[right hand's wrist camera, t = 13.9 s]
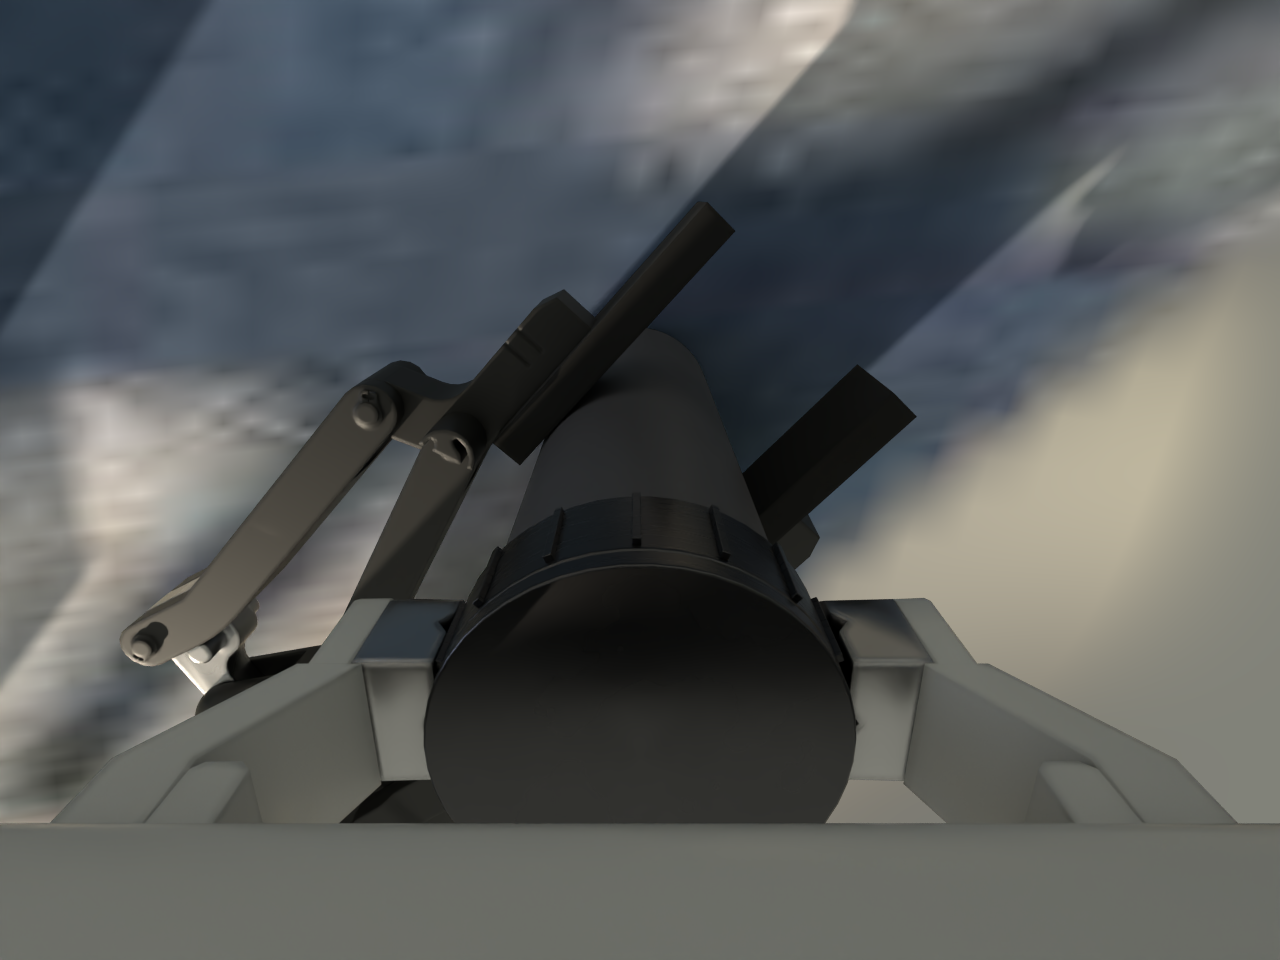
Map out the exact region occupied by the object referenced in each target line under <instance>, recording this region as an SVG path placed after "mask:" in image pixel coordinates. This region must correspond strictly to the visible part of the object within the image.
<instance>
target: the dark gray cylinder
mask: <svg viewBox="0 0 1280 960" xmlns="http://www.w3.org/2000/svg"><path fill="white" fill-rule="evenodd" d="M633 492H640V493H641V496H652V497H661V498H671V499H677V500H682V501H686V502H690V503H695V504H699V505H702V506H705V507H708V508H710V506H711V505H715V506H718V507H719V509H720V512H721V513H724V514H726V515H728V516H730V517H732V518H734V519H736V520H738V521H739V522H741V523H743V524H745V525H747V526H748V527H750V528H751V529H753V530H754V531H755V532H757V533H758V534H760V535H761V536H762V537H764V538H765V539H766V540H767V541H768V539H767V537H766V534H765V532H764V529H763V526H762V524H761V521H760V519H759V516H758V513H757V511H756V508H755V506H754V503H753V501H752V498H751V495H750V493H749V490H748V488H747V485H746V482H745V480H744V477H743V475H742V472H741V470H740V467H739V464H738V462H737V459H736V457H735V454H734V451H733V449H732V446H731V444H730V441H729V439H728V436H727V433H726V431H725V428H724V426H723V423H722V420H721V418H720V415H719V413H718V410H717V408H716V405H715V402H714V400H713V397H712V395H711V392H710V389H709V387H708V384H707V382H706V379H705V377H704V374H703V372H702V369H701V367H700V365H699V363H698V362H697V360H696V359H695V357H694V356H693V355H692V353H691V352H690V351H689V350H688V349H687V348H686V347H685V346H684V345H683V344H682V343H680V342H679V341H677V340H676V339H675V338H673V337H671V336H669V335H667V334H665V333H662V332H660V331H657V330H653V329H648V328H646V329H645V330H644V331H643V332H642V333H641V334H640V335H639V336H638V337H637V339H636V340H635V341H634V342H633V343H632V344H631V345H630V346H629V347H628V348H627V349H626V351H625V352H624V353H623V354H622V355H621V356H620V357H619V358H618V359H617V360H616V361H615V362H614V364H613V365H612V366H611V367H610V368H609V369H608V370H607V371H606V372H605V373H604V374H603V376H602V377H601V378H600V379H599V380H598V381H597V382H596V383H595V384H594V385H593V386H592V388H591V389H590V390H589V391H588V392H587V393H586V394H585V395H584V396H583V397H582V398H581V399H580V401H579V402H578V403H577V404H576V405H575V406H574V407H573V408H572V409H571V410H570V411H569V413H568V414H567V415H566V416H565V417H564V418H563V419H562V420H561V421H560V422H559V423H558V424H557V426H556V427H555V428H554V429H553V430H552V431H551V432H550V433H549V434H548V435H547V436H546V438H545V440H544V442H543V445H542V448H541V451H540V454H539V456H538V459H537V462H536V465H535V467H534V470H533V473H532V476H531V479H530V481H529V484H528V487H527V490H526V492H525V495H524V498H523V501H522V504H521V506H520V509H519V512H518V515H517V518H516V520H515V523H514V526H513V529H512V531H511V534H510V537H509V540H508V543H509V542H511V541H512V540H513V539H515V538H516V537H517V536H519V535H520V534H521V533H523V532H524V531H525V530H527V529H528V528H530V527H531V526H533V525H535V524H537V523H538V522H540V521H542V520H544V519H546V518H547V517H549V516H551V515H553V514H554V510H555V509H557V508H559V507H562V508H563V510H566V509H569V508H571V507H574V506H578V505H582V504H585V503H589V502H593V501H597V500H603V499H610V498H618V497H632V493H633ZM508 543H507V544H508Z"/></svg>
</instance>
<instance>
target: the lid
mask: <svg viewBox="0 0 1280 960" xmlns="http://www.w3.org/2000/svg"><path fill="white" fill-rule="evenodd" d="M842 661H844V657H843V654H842V652H841V650H840V648H839V646H838V643H837V641H836V639H835V637H834V634H833V632H832V630H831V628H830V626H829V623H828V621H827V619H826V617H825V614H824V612H823V610H822V608H821V606H820V603H819V601H818V599H817V597H815V598H812V599H811V598H810V596H809V594H808V591H807V589H806V588H805V586H804V584H803V582H802V581H801V579H800V577H799V576H798V574H797V572H796V571H795V570H794V568H793V567H792V566H791V565H790V563H789V562H788V561H787V558H786V556H785V553H784V551H783V549H782V546H781V545H780V544H778V543H777V542H776V543H775V544H774V545H772V544H771V543H770V542H769V541H767V540H766V539H765V538H764V537H762V536H761V535H760V534H758V533H757V532H755V531H754V530H753V529H751V528H750V527H748V526H747V525H745V524H743V523H741V522H739V521H738V520H736V519H734V518H732V517H730V516H728V515H726V514H724V513H721V512H720V509H719V507H718V506H715V505H711V506H710V508H708V507H705V506H702V505H699V504H695V503H690V502H686V501H682V500H677V499H671V498H661V497H652V496H641V493H640V492H633V493H632V497H618V498H610V499H603V500H597V501H593V502H589V503H585V504H582V505H578V506H574V507H571V508H569V509H566V510H563V508H562V507H559V508H557V509H555V510H554V514H553V515H551V516H549V517H547V518H546V519H544V520H542V521H540V522H538V523H537V524H535V525H533V526H531V527H530V528H528V529H527V530H525V531H524V532H523V533H521V534H520V535H519V536H517V537H516V538H515V539H513V540H512V541H511V542H509V543H508V544H507V545H506V546H505V547H504V548H503V549H501V548H500V547H497V548H496V549H495V550H494V551H493V553H492V555H491V558H490V560H489V563H488V565H487V567H486V569H485V570H484V571H483V573H482V574H481V575H480V577H479V579H478V581H477V582H476V584H475V586H474V588H473V590H472V592H471V594H470V595H469V598H468V600H467V603H466V604H463V603H460V604H459V607H458V609H457V611H456V614H455V616H454V618H453V620H452V622H451V625H450V627H449V629H448V632H447V634H446V637H445V639H444V641H443V643H442V646H441V648H440V650H439V653H438V655H437V657H436V659H435V668H438V669H439V670H438V673H437V675H436V677H435V680H434V683H433V686H432V689H431V692H430V694H429V697H428V700H427V706H426V712H425V717H424V751H425V758H426V764H427V769H428V772H429V775H430V778H431V781H432V784H433V787H434V790H435V792H436V794H437V796H438V798H439V800H440V802H441V804H442V806H443V808H444V810H445V811H446V813H447V814H448V816H449V817H450V818H451V820H452V821H453V823H826V821H827V820H828V818H829V816H830V815H831V814H832V812H833V810H834V809H835V807H836V806H837V804H838V802H839V800H840V798H841V796H842V794H843V792H844V789H845V787H846V785H847V783H848V779H849V776H850V772H851V769H852V766H853V762H854V755H855V747H856V739H857V738H856V716H855V711H854V706H853V701H852V697H851V693H850V690H849V687H848V685H847V682H846V680H845V677H844V675H843V672H842V670H841V667H840V665H839V662H842Z"/></svg>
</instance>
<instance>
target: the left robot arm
mask: <svg viewBox="0 0 1280 960" xmlns="http://www.w3.org/2000/svg"><path fill="white" fill-rule="evenodd" d="M734 232H735V230H734V229H733V228H732V227H731V226H730V225H729V224H728V223H727V222H726V221H725V220H724V219H723V218H722V217H721V216H720V215H719V214H718V213H717V212H716V211H715V210H714V209H713V208H712V207H711V206H710V205H709V203H708V202H697V203H696V204H695V205H694V206H693V208H692V209H691V210H690V211H689V212H688V213H687V214H686V215H685V217H684V218H683V219H682V220H681V221H680V222H679V223H678V224H677V226H676V227H675V228H674V229H673V230H672V231H671V232H670V233H669V235H668V236H667V237H666V238H665V239H664V240H663V241H662V242H661V244H660V245H659V246H658V247H657V248H656V249H655V250H654V251H653V253H652V254H651V255H650V256H649V257H648V258H647V259H646V260H645V262H644V263H643V264H642V265H641V266H640V267H639V268H638V269H637V271H636V272H635V273H634V274H633V275H632V276H631V277H630V278H629V280H628V281H627V282H626V283H625V284H624V285H623V286H622V288H621V289H620V290H619V291H618V292H617V293H616V294H615V295H614V297H613V298H612V299H611V300H610V301H609V302H608V303H607V304H606V306H605V307H604V308H603V309H602V310H601V311H600V312H599V313H598V315H597V316H596V317H594V316H593V315H592V314H590V313H589V312H588V311H587V310H586V309H585V308H584V307H583V306H582V305H581V304H580V303H578V302H577V301H576V300H575V299H574V298H573V297H572V296H571V295H570V294H569V293H568V292H566V291H565V290H562V291H560V292H558V293H556V294H554V295H552V296H549V297H547V298H545V299H543V300H542V301H541V302H540V303H539V304H538V305H537V306H536V307H535V308H534V309H533V310H532V311H531V313H530V314H529V315H528V316H527V317H526V319H525V320H524V321H523V322H522V323H521V324H520V326H519V327H518V328H517V329H516V330H515V331H514V333H513V334H512V335H511V336H510V337H509V338H508V340H507V341H506V342H505V343H504V344H503V346H502V347H501V348H500V349H499V350H498V351H497V353H496V354H495V355H494V356H493V357H492V358H491V360H490V361H489V362H488V363H487V364H486V365H485V367H484V368H483V369H482V370H481V371H480V373H479V374H478V375H477V376H476V377H475V378H474V379H473V380H471V381H469V382H467V383H463V384H448V383H445V382H441V381H439V380H436V379H434V378H431V377H429V376H426V375H425V373H424V372H423V371H422V370H421V369H420V368H419V367H418V366H416V365H415V364H413V363H411V362H407V361H401V360H400V361H396V362H392V363H390V364H388V365H387V366H385V367H384V368H382V369H381V370H379V371H378V372H376V373H374V374H373V375H371V376H370V377H368V378H367V379H365V380H364V381H362V382H361V383H359V384H358V385H356V386H354V387H353V388H352V389H350V390H349V391H348V392H347V393H345V395H344V396H343V397H342V398H341V400H340V401H339V402H338V403H337V405H336V406H335V407H334V408H333V410H332V411H331V412H330V413H329V415H328V416H327V417H326V418H325V420H324V421H323V422H322V424H321V425H320V426H319V427H318V429H317V430H316V431H315V432H314V434H313V435H312V436H311V437H310V439H309V440H308V441H307V442H306V444H305V445H304V446H303V447H302V449H301V450H300V451H299V453H298V454H297V455H296V456H295V458H294V459H293V460H292V461H291V463H290V464H289V465H288V466H287V468H286V469H285V470H284V471H283V473H282V474H281V475H280V476H279V478H278V479H277V480H276V482H275V483H274V484H273V485H272V487H271V488H270V489H269V490H268V492H267V493H266V494H265V495H264V497H263V498H262V499H261V500H260V502H259V503H258V504H257V505H256V507H255V508H254V509H253V511H252V512H251V513H250V514H249V516H248V517H247V518H246V519H245V521H244V522H243V523H242V524H241V526H240V527H239V528H238V529H237V531H236V532H235V533H234V534H233V536H232V537H231V538H230V540H229V541H228V542H227V543H226V545H225V546H224V547H223V548H222V550H221V551H220V552H219V553H218V555H217V556H216V557H215V558H214V560H213V561H212V562H211V564H210V565H209V566H208V567H207V568H205V569H203V570H202V571H200V572H198V573H196V574H194V575H192V576H190V577H188V578H187V579H185V580H184V581H183V582H182V583H180V584H179V585H178V586H177V587H176V588H174V589H173V590H172V591H171V592H170V593H168V594H167V595H166V596H164V597H163V598H162V599H161V600H160V601H158V602H157V603H156V604H155V605H154V606H152V607H151V608H150V609H149V610H148V611H146V612H145V613H144V614H143V615H142V616H141V617H139V618H138V619H137V620H136V621H135V622H133V623H132V624H131V625H130V626H129V627H127V628H126V629H125V630H124V631H123V632H122V634H121V636H120V644H121V648H122V650H123V651H124V653H125V654H126V655H127V656H128V657H129V658H130V659H132V660H133V661H134V662H137V663H139V664H142V665H146V666H156V665H160V664H163V663H165V662H167V661H169V660H171V659H172V660H173V661H174V662H175V663H176V664H177V665H178V666H179V667H180V668H181V670H182V671H183V672H184V673H185V674H186V675H187V676H188V677H189V678H190V680H191V681H192V682H193V683H194V684H195V685H196V686H197V687H198V688H199V690H200V691H201V692H202V693H203V694H204V696H203V697H202V698H201V700H200V702H199V704H198V706H197V709H196V713H195V716H196V715H198V714H200V713H202V712H204V711H205V710H207V709H209V708H211V707H213V706H215V705H217V704H219V703H221V702H223V701H225V700H227V699H229V698H231V697H233V696H235V695H237V694H239V693H241V692H243V691H245V690H247V689H249V688H251V687H252V686H254V685H256V684H258V683H260V682H262V681H264V680H266V679H268V678H270V677H272V676H274V675H276V674H278V673H280V672H282V671H284V670H286V669H288V668H290V667H292V666H294V665H296V664H308V663H309V662H310V661H311V659H312V658H313V656H314V655H315V654H316V652H317V651H318V650H319V648H320V647H321V645H319V646H313V647H307V648H302V649H296V650H290V651H284V652H278V653H272V654H266V655H260V656H255V657H248V655H247V654H246V651H245V641H246V639H247V638H248V637H249V636H250V635H251V634H252V633H253V632H254V630H255V629H256V627H257V616H256V614H255V613H256V612H257V610H258V609H259V602H258V600H257V599H256V598H255V597H256V596H257V595H258V594H259V593H260V592H261V591H262V590H263V589H264V588H265V587H266V586H267V585H268V584H269V583H270V582H271V581H272V580H273V579H274V578H275V577H276V576H277V575H278V574H279V573H280V572H281V571H282V570H283V569H284V568H285V566H286V565H287V564H288V563H289V562H290V561H291V559H292V558H293V557H294V556H295V555H296V553H297V552H298V551H299V550H300V549H301V547H302V546H303V545H304V544H305V543H306V541H307V540H308V539H309V538H310V537H311V536H312V534H313V533H314V532H315V531H316V530H317V528H318V527H319V526H320V525H321V524H322V522H323V521H324V520H325V519H326V518H327V516H328V515H329V514H330V513H331V512H332V510H333V509H334V508H335V507H336V506H337V505H338V503H339V502H340V501H341V500H342V499H343V497H344V496H345V495H346V494H347V493H348V491H349V490H350V489H351V488H352V487H353V485H354V484H355V483H356V482H357V481H358V480H359V478H360V477H361V476H362V475H363V474H364V472H365V471H366V470H367V469H368V468H369V466H370V465H371V464H372V463H373V462H374V460H375V459H376V458H377V457H378V456H379V455H380V453H381V452H382V451H383V450H384V449H385V447H386V446H387V445H388V444H389V443H390V441H391V440H392V439H395V440H397V441H400V442H403V443H405V444H408V445H410V446H413V447H416V448H418V449H421V450H420V452H419V455H418V457H417V459H416V461H415V463H414V465H413V467H412V470H411V472H410V474H409V476H408V478H407V480H406V482H405V485H404V487H403V489H402V491H401V493H400V495H399V497H398V500H397V502H396V504H395V506H394V508H393V510H392V512H391V515H390V517H389V519H388V521H387V523H386V525H385V527H384V529H383V532H382V534H381V536H380V538H379V540H378V542H377V544H376V547H375V549H374V551H373V553H372V555H371V557H370V559H369V562H368V564H367V566H366V568H365V570H364V572H363V574H362V577H361V579H360V581H359V583H358V585H357V587H356V589H355V592H354V594H353V596H352V598H351V600H350V602H349V604H348V607H347V609H346V611H347V610H348V608H349V607H350V606H351V604H352V603H353V602H354V601H355V600H359V599H379V598H392V599H413V598H414V596H415V594H416V592H417V590H418V588H419V586H420V585H421V583H422V581H423V579H424V577H425V575H426V573H427V571H428V569H429V567H430V565H431V563H432V561H433V559H434V557H435V555H436V553H437V551H438V549H439V547H440V545H441V543H442V541H443V539H444V537H445V535H446V533H447V531H448V529H449V527H450V525H451V523H452V521H453V519H454V517H455V515H456V513H457V511H458V509H459V507H460V505H461V503H462V501H463V499H464V497H465V495H466V493H467V491H468V489H469V487H470V486H471V484H472V482H473V480H474V478H475V476H476V474H477V472H478V470H479V468H480V466H481V464H482V462H483V460H484V458H485V456H486V454H487V452H488V450H489V448H490V446H491V444H492V443H493V444H495V445H496V446H497V447H498V448H499V449H501V450H502V451H503V452H504V453H506V454H507V455H508V456H509V457H510V458H512V459H513V460H514V461H515V462H517V463H518V464H519V465H521V464H522V463H523V461H524V460H525V459H526V458H527V457H528V456H529V455H530V454H531V453H532V452H533V451H534V449H535V448H536V447H537V446H538V445H539V444H540V443H541V442H542V441H543V440H544V439H545V438H546V436H547V435H548V434H549V433H550V432H551V431H552V430H553V429H554V428H555V427H556V426H557V424H558V423H559V422H560V421H561V420H562V419H563V418H564V417H565V416H566V415H567V414H568V413H569V411H570V410H571V409H572V408H573V407H574V406H575V405H576V404H577V403H578V402H579V401H580V399H581V398H582V397H583V396H584V395H585V394H586V393H587V392H588V391H589V390H590V389H591V388H592V386H593V385H594V384H595V383H596V382H597V381H598V380H599V379H600V378H601V377H602V376H603V374H604V373H605V372H606V371H607V370H608V369H609V368H610V367H611V366H612V365H613V364H614V362H615V361H616V360H617V359H618V358H619V357H620V356H621V355H622V354H623V353H624V352H625V351H626V349H627V348H628V347H629V346H630V345H631V344H632V343H633V342H634V341H635V340H636V339H637V337H638V336H639V335H640V334H641V333H642V332H643V331H644V330H645V329H646V328H647V327H648V326H649V324H650V323H651V322H652V321H653V320H654V319H655V318H656V317H657V316H658V315H659V314H660V312H661V311H662V310H663V309H664V308H665V307H666V306H667V305H668V304H669V303H670V302H671V301H672V299H673V298H674V297H675V296H676V295H677V294H678V293H679V292H680V291H681V290H682V289H683V287H684V286H685V285H686V284H687V283H688V282H689V281H690V280H691V279H692V278H693V277H694V276H695V274H696V273H697V272H698V271H699V270H700V269H701V268H702V267H703V266H704V265H705V264H706V262H707V261H708V260H709V259H710V258H711V257H712V256H713V255H714V254H715V253H716V252H717V251H718V249H719V248H720V247H721V246H722V245H723V244H724V243H725V242H726V241H727V240H728V239H729V237H730V236H731V235H732V234H733V233H734ZM916 417H917V416H916V415H915V414H914V413H913V412H912V411H911V410H910V409H909V408H908V407H907V406H906V405H905V404H904V403H903V402H902V401H901V400H900V399H899V398H898V397H897V396H896V395H895V394H894V393H893V392H892V391H891V390H889V389H888V388H887V387H885V386H884V385H883V384H882V383H880V382H879V381H878V380H877V379H875V378H874V377H873V376H871V375H870V374H869V373H868V372H866V371H865V370H864V369H863V368H861V367H860V366H859V365H856V366H855V367H854V368H853V369H852V370H851V371H850V372H849V373H848V374H847V375H846V376H845V377H844V378H843V379H841V380H840V381H839V382H838V383H837V384H836V385H835V386H834V387H833V388H832V389H831V390H830V391H829V392H828V393H827V394H826V395H825V396H824V397H823V398H821V399H820V400H819V401H818V402H817V403H816V404H815V405H814V406H813V407H812V408H811V409H810V410H809V411H808V412H807V413H806V414H805V415H804V416H803V417H801V418H800V419H799V420H798V421H797V422H796V423H795V424H794V425H793V426H792V427H791V428H790V429H789V430H788V431H787V432H786V433H785V434H784V435H783V436H781V437H780V438H779V439H778V440H777V441H776V442H775V443H774V444H773V445H772V446H771V447H770V448H769V449H768V450H767V451H766V452H765V453H764V454H763V455H761V456H760V457H759V458H758V459H757V460H756V461H755V462H754V463H753V464H752V465H751V466H750V467H749V468H748V469H747V470H746V471H745V472H744V473H743V474H742V475H743V477H744V480H745V482H746V485H747V488H748V490H749V493H750V495H751V498H752V501H753V503H754V506H755V508H756V511H757V513H758V516H759V519H760V521H761V524H762V526H763V529H764V532H765V534H766V537H767V539H768V541H769V542H770V543H771V544H772V545H774V544H775V543H776V542H777V543H778V544H780V545H781V546H782V549H783V551H784V553H785V556H786V558H787V561H788V562H789V563H790V565H791V566H792V567H793V568H794V570H795V569H796V568H797V567H798V566H799V565H801V564H802V563H803V562H804V561H805V560H806V559H807V558H809V557H810V555H811V553H812V551H813V549H814V547H815V546H816V544H817V542H818V540H819V538H820V537H819V535H818V533H817V531H816V529H815V527H814V525H813V523H812V521H811V519H810V517H809V515H808V514H809V513H810V512H811V511H812V510H813V509H814V508H815V507H816V506H818V505H819V504H820V503H821V502H822V501H823V500H824V499H825V498H826V497H828V496H829V495H830V494H831V493H832V492H833V491H834V490H835V489H837V488H838V487H839V486H840V485H841V484H842V483H843V482H844V481H845V480H847V479H848V478H849V477H850V476H851V475H852V474H853V473H854V472H856V471H857V470H858V469H859V468H860V467H861V466H862V465H863V464H864V463H866V462H867V461H868V460H869V459H870V458H871V457H872V456H873V455H874V454H876V453H877V452H878V451H879V450H880V449H881V448H882V447H883V446H885V445H886V444H887V443H888V442H889V441H890V440H891V439H892V438H893V437H895V436H896V435H897V434H898V433H899V432H900V431H901V430H902V429H903V428H905V427H906V426H907V425H908V424H909V423H910V422H911V421H912V420H914V419H915V418H916ZM346 611H345V612H346ZM344 614H345V613H344ZM340 823H453V821H452V820H451V818H450V817H449V816H448V814H447V813H446V811H445V810H444V808H443V806H442V804H441V802H440V800H439V798H438V796H437V794H436V792H435V790H434V787H433V784H432V781H431V780H396V781H381V785H380V786H379V787H378V788H377V789H376V790H375V791H374V792H373V793H371V794H370V795H369V796H368V797H367V798H366V799H365V800H364V801H363V802H362V803H360V804H359V805H358V806H357V807H356V808H355V809H354V810H353V811H352V812H351V813H349V814H348V815H347V816H346V817H345V818H344V819H343V820H342V821H341V822H340Z"/></svg>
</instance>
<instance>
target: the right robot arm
mask: <svg viewBox="0 0 1280 960" xmlns="http://www.w3.org/2000/svg"><path fill="white" fill-rule="evenodd" d="M460 603H463V604H465V602H464V600H430V599H392V598H379V599H359V600H355V601H354V602H353V603H352V604H351V606H350V607H349V608H348V610H347V611H346V612H345V614H344V615H343V617H342V618H341V619H340V621H339V622H338V623H337V625H336V626H335V628H334V629H333V630H332V632H331V633H330V634H329V636H328V637H327V639H326V640H325V641H324V643H323V644H322V645H321V647H320V648H319V650H318V651H317V652H316V654H315V655H314V656H313V658H312V659H311V661H310V662H309V663H308V664H296V665H294V666H292V667H290V668H288V669H286V670H284V671H282V672H280V673H278V674H276V675H274V676H272V677H270V678H268V679H266V680H264V681H262V682H260V683H258V684H256V685H254V686H252V687H251V688H249V689H247V690H245V691H243V692H241V693H239V694H237V695H235V696H233V697H231V698H229V699H227V700H225V701H223V702H221V703H219V704H217V705H215V706H213V707H211V708H209V709H207V710H205V711H204V712H202V713H200V714H198V715H196V716H194V717H192V718H190V719H188V720H186V721H184V722H182V723H180V724H178V725H176V726H174V727H172V728H170V729H168V730H166V731H164V732H162V733H160V734H158V735H157V736H155V737H153V738H151V739H149V740H147V741H145V742H143V743H141V744H139V745H137V746H135V747H133V748H131V749H129V750H127V751H125V752H123V753H121V754H119V755H117V756H115V757H113V758H112V759H111V760H110V761H109V762H108V763H107V764H106V765H105V766H104V767H103V768H102V769H101V770H100V771H99V772H98V773H97V774H96V775H95V777H94V778H93V779H92V780H91V781H90V782H89V783H88V784H87V785H86V786H85V787H84V788H83V789H82V790H81V791H80V792H79V793H78V794H77V795H76V796H75V797H74V798H73V800H72V801H71V802H70V803H69V804H68V805H67V806H66V807H65V808H64V809H63V810H62V811H61V812H60V813H59V814H58V815H57V816H56V817H55V818H54V819H53V820H52V822H51V823H0V960H1280V824H1238V823H1237V822H1236V821H1235V820H1234V819H1233V818H1232V817H1231V816H1230V814H1229V813H1228V812H1227V811H1226V810H1225V809H1224V808H1223V807H1222V806H1221V805H1220V804H1219V803H1218V802H1217V801H1216V800H1215V799H1214V798H1213V797H1212V796H1211V795H1210V794H1209V793H1208V792H1207V791H1206V790H1205V789H1204V787H1203V786H1202V785H1201V784H1200V783H1199V782H1198V781H1197V780H1196V779H1195V778H1194V777H1193V776H1192V775H1191V774H1190V773H1189V772H1188V771H1187V770H1186V769H1185V768H1184V767H1183V766H1182V765H1181V764H1180V762H1179V761H1178V760H1177V759H1175V758H1173V757H1171V756H1169V755H1167V754H1165V753H1163V752H1161V751H1159V750H1157V749H1155V748H1153V747H1151V746H1149V745H1147V744H1145V743H1143V742H1141V741H1139V740H1137V739H1136V738H1134V737H1132V736H1130V735H1128V734H1126V733H1124V732H1122V731H1120V730H1118V729H1116V728H1114V727H1112V726H1110V725H1108V724H1106V723H1104V722H1102V721H1100V720H1098V719H1096V718H1094V717H1092V716H1090V715H1088V714H1086V713H1084V712H1082V711H1080V710H1078V709H1077V708H1075V707H1073V706H1071V705H1069V704H1067V703H1065V702H1063V701H1061V700H1059V699H1057V698H1055V697H1053V696H1051V695H1049V694H1047V693H1045V692H1043V691H1041V690H1039V689H1037V688H1035V687H1033V686H1031V685H1029V684H1027V683H1025V682H1023V681H1021V680H1020V679H1018V678H1016V677H1014V676H1012V675H1010V674H1008V673H1006V672H1004V671H1002V670H1000V669H998V668H996V667H994V666H992V665H990V664H977V663H976V661H975V660H974V659H973V657H972V656H971V655H970V653H969V652H968V651H967V649H966V648H965V647H964V645H963V644H962V643H961V641H960V640H959V639H958V637H957V636H956V634H955V633H954V632H953V630H952V629H951V628H950V626H949V625H948V624H947V622H946V621H945V620H944V618H943V617H942V616H941V614H940V613H939V612H938V610H937V609H936V608H935V606H934V605H933V604H932V602H931V601H929V600H927V599H925V598H913V599H879V600H838V601H820V602H819V603H820V606H821V608H822V610H823V612H824V614H825V617H826V619H827V621H828V623H829V626H830V628H831V630H832V632H833V634H834V637H835V639H836V641H837V643H838V646H839V648H840V650H841V652H842V654H843V657H844V661H842V662H839V665H840V667H841V670H842V672H843V675H844V677H845V680H846V682H847V685H848V687H849V690H850V693H851V697H852V701H853V706H854V711H855V716H856V738H857V739H856V747H855V755H854V762H853V766H852V769H851V772H850V776H849V779H853V780H889V781H904V785H905V786H907V787H908V788H909V789H910V790H911V791H912V792H913V793H914V794H915V795H916V796H918V797H919V798H920V799H921V800H922V801H923V802H924V803H925V804H926V805H928V806H929V807H930V808H931V809H932V810H933V811H934V812H935V813H936V814H937V815H939V816H940V817H941V818H942V819H943V820H944V821H945V822H946V823H340V822H341V821H342V820H343V819H344V818H345V817H346V816H347V815H348V814H349V813H351V812H352V811H353V810H354V809H355V808H356V807H357V806H358V805H359V804H360V803H362V802H363V801H364V800H365V799H366V798H367V797H368V796H369V795H370V794H371V793H373V792H374V791H375V790H376V789H377V788H378V787H379V786H380V785H381V781H396V780H431V778H430V775H429V772H428V769H427V764H426V758H425V751H424V717H425V712H426V706H427V700H428V697H429V694H430V692H431V689H432V686H433V683H434V680H435V677H436V675H437V673H438V670H439V669H438V668H435V659H436V657H437V655H438V653H439V650H440V648H441V646H442V643H443V641H444V639H445V637H446V634H447V632H448V629H449V627H450V625H451V622H452V620H453V618H454V616H455V614H456V611H457V609H458V607H459V604H460Z"/></svg>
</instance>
